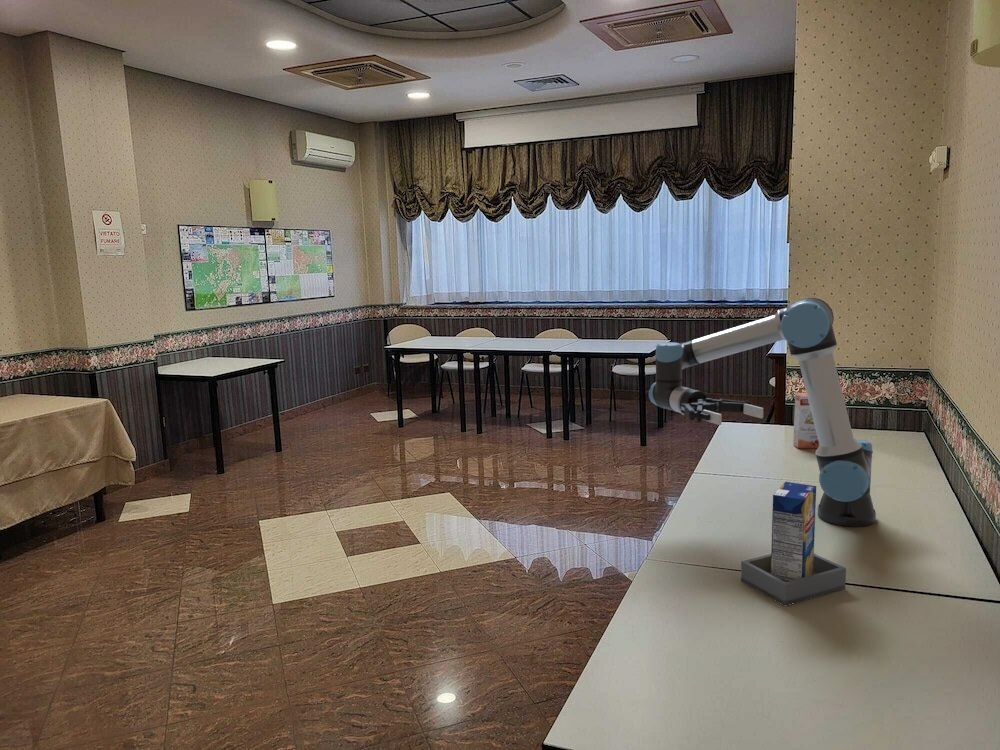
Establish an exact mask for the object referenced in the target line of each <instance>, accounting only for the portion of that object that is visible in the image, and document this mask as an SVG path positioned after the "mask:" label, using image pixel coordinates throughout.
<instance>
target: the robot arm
mask: <svg viewBox="0 0 1000 750" xmlns="http://www.w3.org/2000/svg"><path fill="white" fill-rule="evenodd" d="M834 317H835V316H834V312H833V309H832V308H831V306H830V305H829V303H827V302H826V301H825V300H823V299H820V298H817V297H806V298H803V299H801V300H798V301H797V302H794V303H793V304H791V305H788V306H786V307H783V308H781V309H780V308H779V309H778V310H777V312H776V313H775V314H773V315H769V316H766V317H764V318H760V319H756V320H753V321H749V322H747V323H743V324H740V325H737V326H734V327H731V328H726V329H724V330H720V331H717V332H714V333H711V334H707V335H704V336H701V337H699V338H698V337H697V338H694V339H693V340H688V341H685V342H673V341H672V342H671V341H670V342H669V341H667V342H659V343H657V344H656V346H655V355H654V357H655V382H653V383H652V384H651V385H650V388H649V390H648V398H649V400H650V402H651V403H652V404H654V405H655V406H657V407H659V408H661V409H665V410H669V411H673V412H676V413H680V415H682V416H685V417H687V418H688V420H690V421H694V420H695V419H696V422H697V423H702V421H705V422H708V423H711V424H715V425H718V426H721V425H722V420H723V419H722V416H723V415H722V412H728V413H729V412H730V413H743V414H744V415H747V416H751V417H754V418H758V419H763V418H764V407H760V406H757V405H753V403H752V401H749V400H745V401H744V400H735V399H727V398H721V397H719V398H717V399H714V398H711V397H710V398H709V397H708V396H707V394H706V393H705V392H704V391H702V390H698V389H694V388H690V387H687V386H683V385H682V384H683V370H684V369H687V368H690V367H693V366H696V365H699V364H702V363H706V362H710V361H713V360H716V359H720V358H724V357H727V356H732V355H734V354H737V353H741V352H745V351H749V350H752V349H756V348H759V347H762V346H767V345H770V344H773V343H776V342H779V341H786V342H787V344H788V349H789V353H790V356H791V357H793V358H794V359H797V361H798V364H799V369H800V372H801V376H802V380H803V381H802V382H803V385H804V388H805V389H804V390H805V393H807V397H808V401H809V405H810V409H811V413H812V417H813V421H814V425H815V429H816V433H817V437H818V441H819V447H818V448H816V450H815V457H816V461H817V466H818V470H819V475H818V482H819V485H820V488H821V490H822V491H823V494H822V496H821V499H820V502H819V503H818V506H817V516H818V518H820V519H821V520H822V521H825V522H826V523H830V524H833V525H837V526H843V527H852V526H853V527H858V528H859V527H867V526H871V525H873V524H875V522H876V521H877V518H876V517H877V512H876V510H875V508H874V505H873V500H872V495H871V481H872V462H873V459H872V458H873V453H874V451H873V444H872V443H871V442H870V441H869V440H864V439H859V438H858V439H857V438H854V434H853V429H852V425H851V422H850V418H849V415H848V411H847V407H846V405H847V404H846V403H845V401H846V400H845V397H844V394H843V390H842V386H841V381H840V378H839V374H838V370H837V366H836V361H835V357H834V354H833V353H834V351H835V349H836V348H837V346H838V344H837V343H838V342H837V340H836V339H837V338H836V335H835V331H834V327H833V324H834V321H835V320H834V319H835V318H834ZM717 408H718V409H717Z"/></svg>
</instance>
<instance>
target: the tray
mask: <svg viewBox="0 0 1000 750" xmlns="http://www.w3.org/2000/svg"><path fill="white" fill-rule="evenodd" d="M740 563H741V564H740V565H741V566H740V582H741V583H744V584H745V585H747V586H748V587H750V588H752V589H754V590H756V591H757V592H759V593H761V594H763V595H764V594H765V596H766V597H768V598H769V599H771V598H772V599H771V600H773V601H775V600H776V601H775V602H777V603H778V602H779V603H778V604H780V603H781V605H782V604H783V605H782V606H784V605H787V606H790V605H789V604H791V605H793V604H792V603H794V604H797V602H798V603H801V602H804V600H805V601H808V600H812V599H815V598H818V596H819V597H822V596H826V595H828V594H832V593H836V592H839V591H843V590H845V589H846V581H847V580H846V578H847V577H846V576H847V567H844V566H842V565H840V564H837V563H835V562H833V561H832V560H829V559H827V558H824V557H822V556H820V555H817V553H816V554H815V553H814V560H813V575H810V576H807V577H803V578H799V579H796V580H792V581H788V582H785V581H783V580H781V579H779V578H777V577H775V576H773V575H771V553H769V554H765V555H761V556H757V557H753V558H748V559H746V560H741V561H740ZM825 594H826V595H825ZM814 597H815V598H814ZM811 598H812V599H811ZM807 599H808V600H807ZM800 601H801V602H800Z"/></svg>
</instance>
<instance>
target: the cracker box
mask: <svg viewBox="0 0 1000 750" xmlns="http://www.w3.org/2000/svg"><path fill="white" fill-rule="evenodd" d="M794 395H795V396H794V400H795V401H794V414H793V415H794V417H793V437H792V438H793V440H792V443H793V446H794V447H796V448H797V449H818V447H819V441H818V437H817V433H816V429H815V425H814V421H813V417H812V413H811V409H810V405H809V401H808V397H807V393H806V392H796V393H795V394H794Z"/></svg>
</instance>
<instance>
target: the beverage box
mask: <svg viewBox="0 0 1000 750" xmlns="http://www.w3.org/2000/svg"><path fill="white" fill-rule="evenodd" d="M816 502H817V485H810V484H805V483H804V484H803V483H799V482H798V483H797V482H790V481H785V482H784V483H783V484H782V485H781V486H780V487H779V488H778V489H777V490H776V491H775V492H774V493H773V494H772V517H771V518H772V521H771V522H772V523H771V525H772V526H771V550H770V551H771V553H770V554H771V575H773V576H775V577H777V578H779V579H781V580H783V581H785V582H788V581H792V580H796V579H799V578H803V577H807V576H810V575H813V560H814V554H815V552H814V551H815V533H816V532H815V530H816V526H815V525H816V506H817V505H816Z"/></svg>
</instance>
